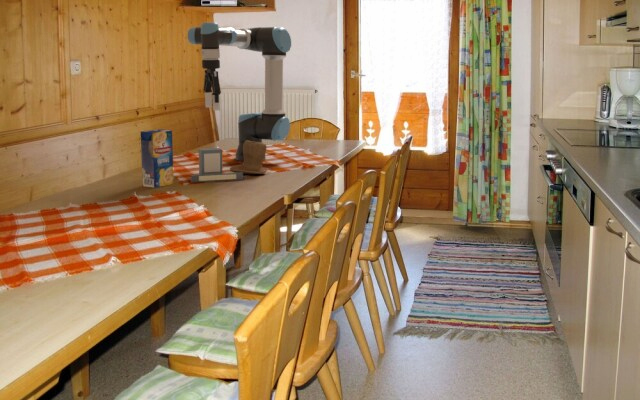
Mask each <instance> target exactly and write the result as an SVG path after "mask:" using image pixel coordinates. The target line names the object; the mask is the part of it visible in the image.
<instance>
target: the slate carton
mask: <svg viewBox="0 0 640 400" xmlns="http://www.w3.org/2000/svg"><path fill="white" fill-rule="evenodd" d="M198 172H199V173H198V175H199V174H219V173H223V149H222V148H219V147H216V148H214V147H213V148H210V147H209V148H198Z"/></svg>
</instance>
